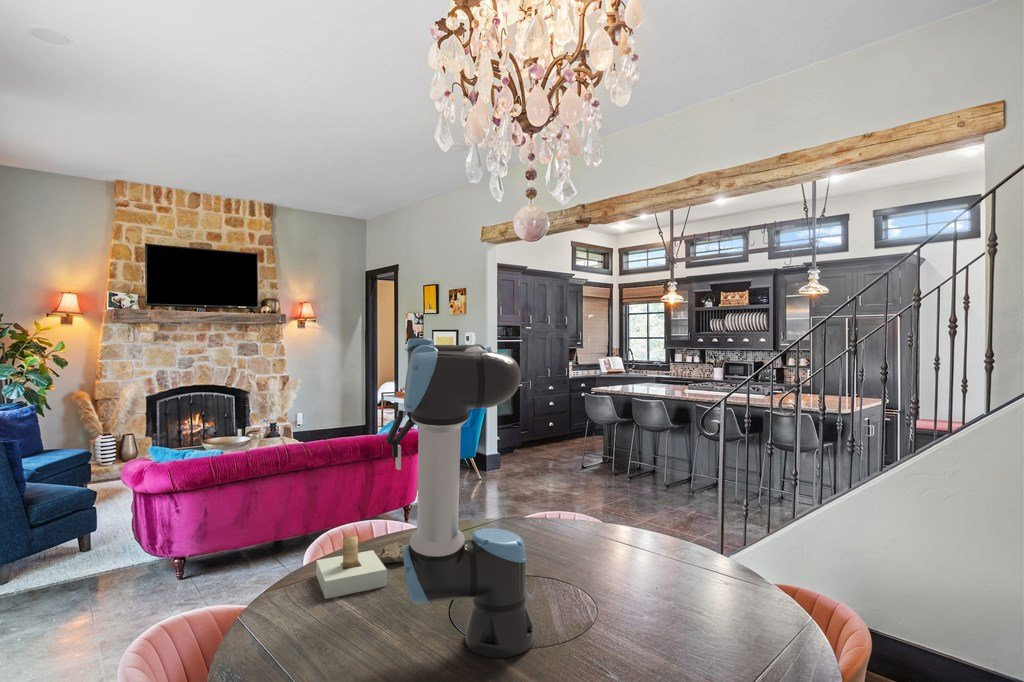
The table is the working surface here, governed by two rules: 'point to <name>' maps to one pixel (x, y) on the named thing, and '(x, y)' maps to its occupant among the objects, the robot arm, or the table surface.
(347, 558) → the dowel
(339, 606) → the table surface
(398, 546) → the rock
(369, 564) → the socket block
